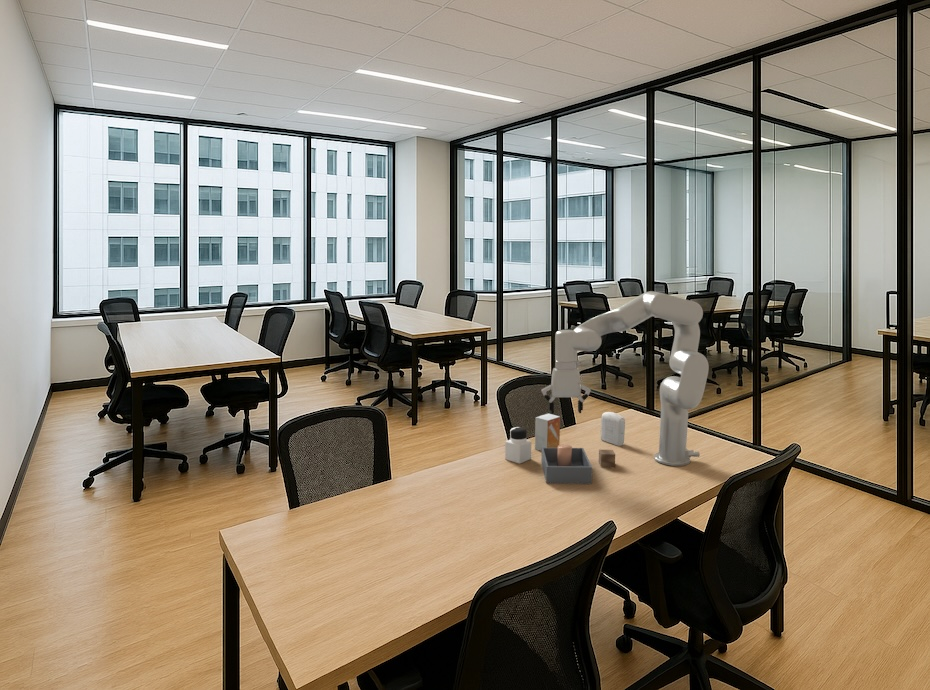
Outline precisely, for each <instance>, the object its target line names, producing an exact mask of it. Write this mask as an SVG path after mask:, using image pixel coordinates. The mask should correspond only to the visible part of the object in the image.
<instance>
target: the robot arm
mask: <svg viewBox="0 0 930 690" xmlns="http://www.w3.org/2000/svg"><path fill="white" fill-rule="evenodd" d="M703 315H704V311H703V308H702V306H701V304H699V303H698V302H696V301H693V300H689V299H685V298H682V297H677V296H674V295H671V294H667V293H664V292H658V291H653V290H650V291H646V292H643V293H642V294H639V295H638V296H636V297H635V298H633V299H631V300H628V301H627V302H626V303H624V304H623V305H621V306H619V307H617V308H615V309H613V310H610V311H607V312H604V313H601V314H598V315H597V316H595V317H592V318H589V319H588V320H586V321H585V322H583V323H581V324H580V325H577V326H576V327H575V328H574V329H573V330H572V329H560V330H557V331H556V332H555V337H554V340H555V341H554V342H555V343H554V344H555V345H554V346H555V347H554V348H555V349H554V350H555V351H554V354H555V355H554V356H555V357H554V358H555V359H554V361H555V363H554V364H555V365H554V367H553V368H552V373H551V383H550V384H549V385H547V386H545V387H543V388H541V394H542V395H543V396H544V399H545V400H547V401H548V403H549V404H548V407H549V408H548V410H549V411H550V412H551V413H550V414H552V415H554V412H555V411H554V409H555V407H554V406H555V402H554V400H555V399H556V398H577V399H578V400H577V412H578V413H579V414H582V411H583V410H584V402H585V400H587V398H588V397H589V395H590V393H592V392H591V391H592V390H591V388H590V387H587V386H586V385H583V384H582V383H581V377H580V376H581V373H580V369H579V366H582V361H579V360H578V352H579V351H580V352H593V351H596V350H598V349H599V348H600V347H601V345H602V336H605V335H607V334H611V333H618V332H619V333H621V332H625V331H628V330H630V329H632V328H634V327H636V326H637V325H639V324H641V323H643V322H645V321H646V320H648V319H650V318H651V317H655V318H658V319H661V320H664V321H669V322H671V323H672V325H673V328H674V338H673V342H672V347H671V352H670V357H669V362H668V364H669V368H670V369H671V370H672V371H673V372H674V373H675V374H676V373H677V374H679V375H680V376H677V375H676V376H675V375H673V376H672V375H671V376H667V377H666V378H664V379H663V380H662V382H661V383H660V386H659V398H660V399H659V400H660V423H659V439H658V440H659V445H658V452H657V453H655V454H654V455H653V456H654V461H656V462H658V463H660V464H662V465H666V466H672V467H681V466H683V467H684V466H687V465H689V464H690V463H691V457H692V458H699V457H700V456H701V455H700V451H694V449H687V440H688V426H689V425H688V423H689V410H693V409H695V408H697V407H698V406H699V405H700V404H701V402H702V399H703V397H704V393H705V388H706V385H707V384H706V383H707V379H708V375H709V370H710V369H709V368H710V367H709V362H708V359H707V357H706V356H705V355H704V354H702V353H701V352H698V351H699V350H698V349H699V344H700V337H701V329H700V325H699V323H700V322H701V320H702V319H703ZM582 390H583V391H585V393H584V394H583V395H582ZM549 391H550V392H551V393H550V396H549V395H548V394H547V392H549Z"/></svg>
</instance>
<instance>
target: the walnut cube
mask: <svg viewBox="0 0 930 690" xmlns="http://www.w3.org/2000/svg"><path fill="white" fill-rule="evenodd" d="M598 464H599V466H600V468H616V453H615V451H614V449H598Z"/></svg>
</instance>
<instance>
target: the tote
mask: <svg viewBox="0 0 930 690" xmlns="http://www.w3.org/2000/svg"><path fill="white" fill-rule="evenodd" d="M557 453H558V448H542V451H541V457H540V458H541V462H540V463H541V466H542V472H543V475H544V481H545V482H546V484H572V483H577V484H578V483H579V485H580V484H583V485H584V484H589V485H591V484H592V480H593V479H592V478H593V466H592V464H591V462H590V460H589V458H588V455H587V453H586V451H585V448H584V447H572V456H571V466H557Z"/></svg>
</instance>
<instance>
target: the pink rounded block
mask: <svg viewBox="0 0 930 690" xmlns="http://www.w3.org/2000/svg"><path fill="white" fill-rule="evenodd" d="M572 448H573V447H572V445H569V444H559V445H558V453H557V466H571V456H572Z"/></svg>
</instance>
